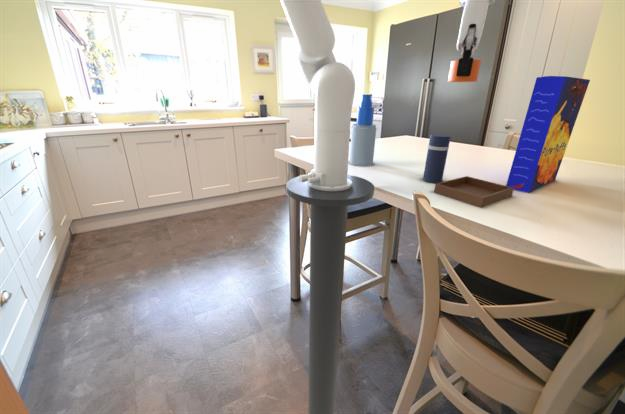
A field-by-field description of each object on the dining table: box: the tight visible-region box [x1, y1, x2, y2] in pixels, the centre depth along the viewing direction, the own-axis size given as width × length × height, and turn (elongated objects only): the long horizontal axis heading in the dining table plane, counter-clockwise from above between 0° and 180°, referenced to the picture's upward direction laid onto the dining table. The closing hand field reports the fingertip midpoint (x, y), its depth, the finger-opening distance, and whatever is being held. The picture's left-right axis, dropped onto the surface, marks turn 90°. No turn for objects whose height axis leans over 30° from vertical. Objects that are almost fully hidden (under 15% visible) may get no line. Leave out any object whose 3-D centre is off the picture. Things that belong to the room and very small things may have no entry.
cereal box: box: [505, 75, 591, 194], centre depth 82 cm, size 22×6×30 cm, turn 126°
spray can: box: [422, 133, 451, 184], centre depth 87 cm, size 6×6×14 cm
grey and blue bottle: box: [349, 93, 377, 167], centre depth 105 cm, size 9×9×25 cm
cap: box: [447, 58, 482, 83], centre depth 75 cm, size 7×7×5 cm
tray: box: [433, 175, 515, 208], centre depth 77 cm, size 15×13×2 cm
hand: (463, 76), depth 75 cm, fingers closed on cap, 7 cm apart
